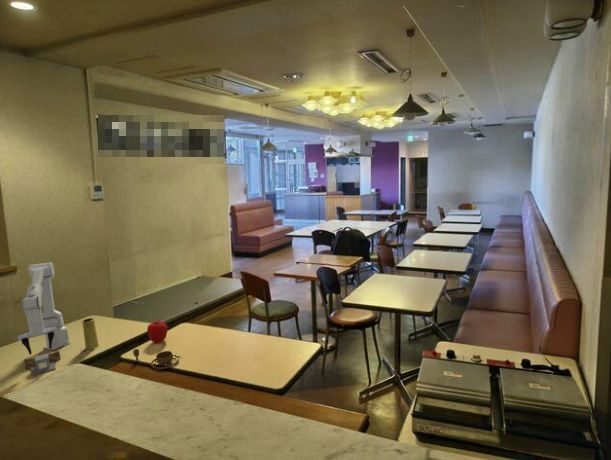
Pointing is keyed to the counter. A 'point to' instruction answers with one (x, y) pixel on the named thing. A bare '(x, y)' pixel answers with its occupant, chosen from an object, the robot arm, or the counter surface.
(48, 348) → the robot arm
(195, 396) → the counter surface
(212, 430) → the counter surface
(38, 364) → the slate cube
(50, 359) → the walnut screen
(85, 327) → the vase
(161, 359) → the place setting
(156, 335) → the apple
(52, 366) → the mat
